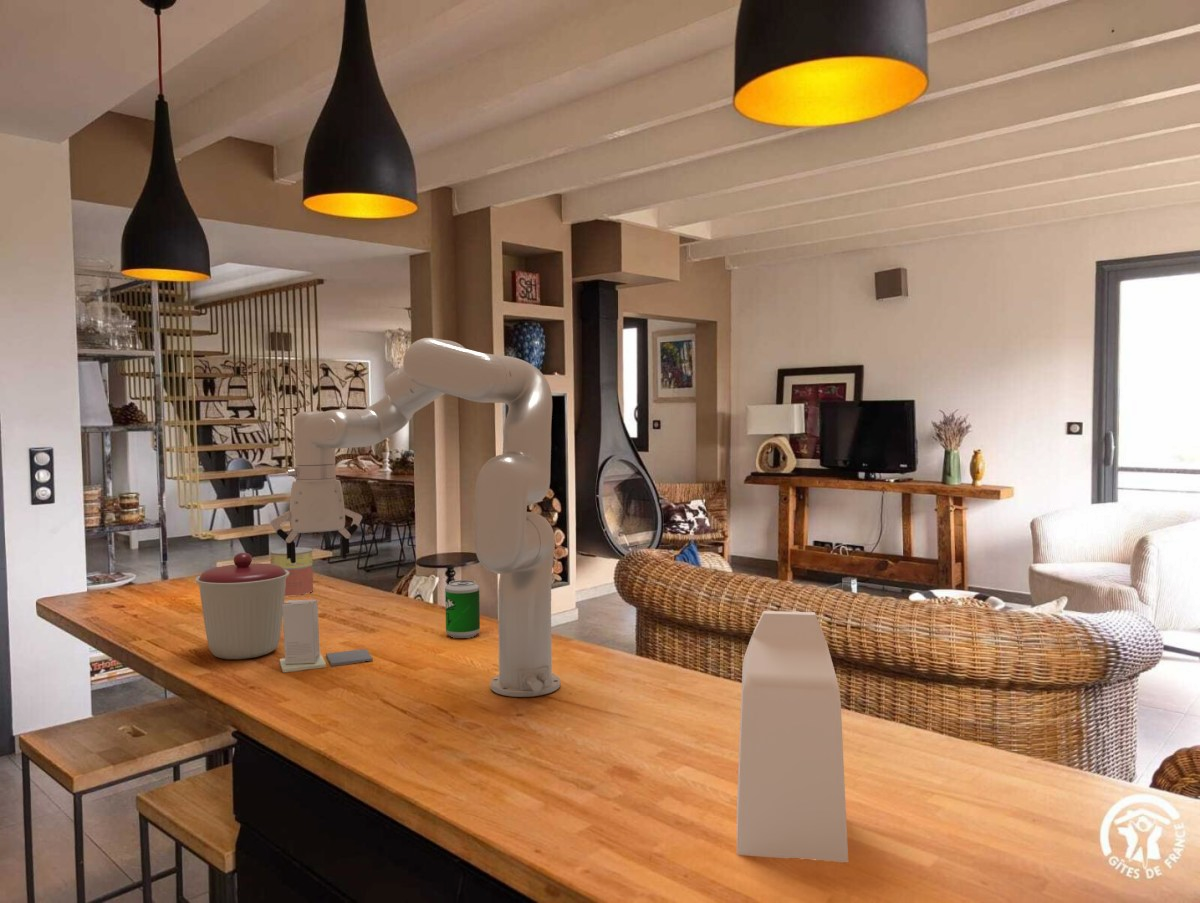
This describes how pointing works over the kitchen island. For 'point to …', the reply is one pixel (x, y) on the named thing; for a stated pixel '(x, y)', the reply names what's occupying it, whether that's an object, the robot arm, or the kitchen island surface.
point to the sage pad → (302, 665)
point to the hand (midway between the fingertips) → (318, 559)
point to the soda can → (462, 609)
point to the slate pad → (348, 657)
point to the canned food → (295, 569)
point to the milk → (790, 744)
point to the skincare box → (301, 631)
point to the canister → (243, 607)
